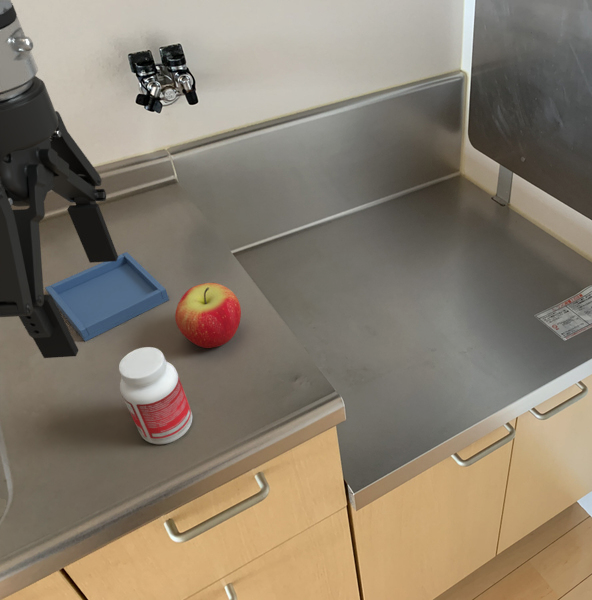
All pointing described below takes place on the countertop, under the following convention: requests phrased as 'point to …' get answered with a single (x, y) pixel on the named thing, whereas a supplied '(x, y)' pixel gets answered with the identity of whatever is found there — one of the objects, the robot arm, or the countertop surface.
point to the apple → (208, 315)
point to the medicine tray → (106, 295)
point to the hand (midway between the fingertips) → (84, 303)
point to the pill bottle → (154, 396)
